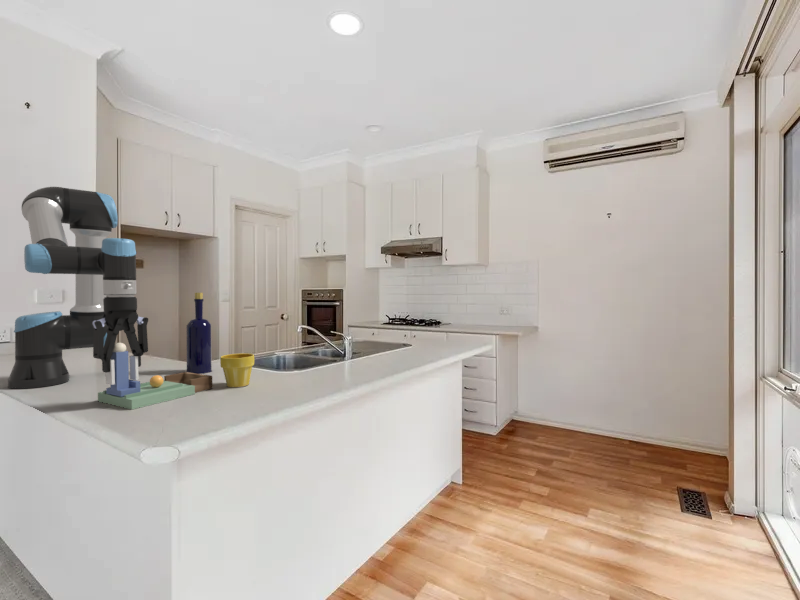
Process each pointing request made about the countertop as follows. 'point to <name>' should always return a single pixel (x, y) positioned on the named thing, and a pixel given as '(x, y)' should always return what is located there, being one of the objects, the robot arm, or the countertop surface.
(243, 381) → the plant pot
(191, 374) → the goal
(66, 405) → the countertop surface
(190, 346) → the bottle
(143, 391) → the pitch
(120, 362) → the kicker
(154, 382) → the ball
